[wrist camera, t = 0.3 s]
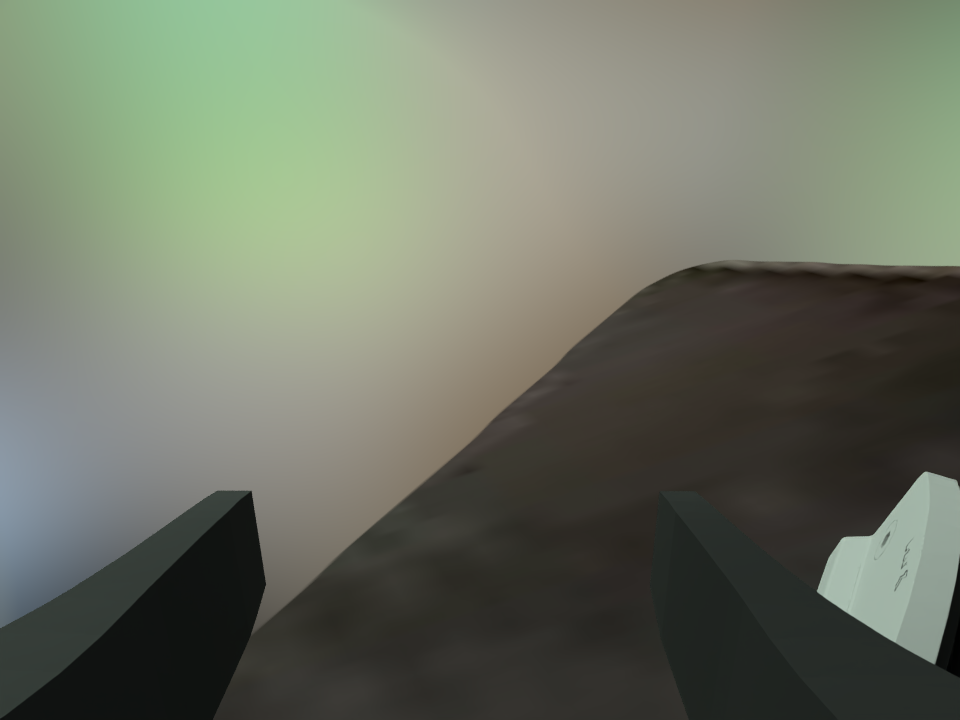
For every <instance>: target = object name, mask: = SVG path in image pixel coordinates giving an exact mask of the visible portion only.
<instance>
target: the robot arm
mask: <svg viewBox="0 0 960 720" xmlns="http://www.w3.org/2000/svg"><path fill="white" fill-rule="evenodd" d="M265 586H266V582H265V575H264V569H263V562H262V556H261V549H260V543H259V537H258V530H257V524H256V517H255V511H254V504H253V498H252V491H216V492H215V493H213V494H211V495H210V496H208V497H206V498H205V499H203V500H202V501H200V502H199V503H197V504H196V505H195V506H193V507H192V508H190V509H189V510H187V511H186V512H185V513H183V514H182V515H180V516H179V517H178V518H176V519H175V520H173V521H172V522H170V523H169V524H168V525H166V526H165V527H163V528H162V529H160V530H159V531H158V532H156V533H155V534H153V535H152V536H151V537H149V538H148V539H146V540H145V541H143V542H142V543H140V544H139V545H138V546H136V547H135V548H133V549H132V550H130V551H129V552H128V553H126V554H125V555H123V556H121V557H120V558H118V559H117V560H116V561H114V562H112V563H111V564H109V565H108V566H106V567H104V568H103V569H101V570H100V571H98V572H97V573H95V574H94V575H92V576H91V577H89V578H88V579H86V580H84V581H83V582H81V583H79V584H78V585H76V586H75V587H73V588H72V589H70V590H68V591H67V592H65V593H63V594H62V595H60V596H58V597H57V598H55V599H53V600H51V601H50V602H48V603H46V604H44V605H43V606H41V607H39V608H37V609H36V610H34V611H32V612H30V613H28V614H26V615H25V616H23V617H21V618H19V619H17V620H15V621H13V622H11V623H10V624H8V625H6V626H4V627H2V628H0V720H213V718H214V715H215V713H216V711H217V709H218V707H219V705H220V702H221V700H222V698H223V696H224V694H225V692H226V689H227V687H228V685H229V683H230V681H231V679H232V676H233V674H234V672H235V670H236V667H237V665H238V663H239V661H240V659H241V656H242V654H243V652H244V650H245V647H246V645H247V643H248V640H249V638H250V636H251V632H252V629H253V626H254V623H255V620H256V617H257V614H258V610H259V607H260V603H261V600H262V596H263V593H264V589H265ZM650 588H651V593H652V598H653V603H654V608H655V613H656V618H657V622H658V627H659V631H660V636H661V640H662V643H663V646H664V649H665V652H666V655H667V658H668V661H669V664H670V667H671V670H672V672H673V675H674V678H675V681H676V684H677V687H678V690H679V693H680V695H681V698H682V701H683V704H684V707H685V710H686V713H687V715H688V718H689V720H960V678H959V677H957V676H955V675H953V674H951V673H949V672H948V671H946V670H944V669H942V668H940V667H938V666H936V665H935V664H933V663H931V662H929V661H927V660H925V659H924V658H922V657H920V656H918V655H916V654H914V653H912V652H911V651H909V650H907V649H905V648H904V647H902V646H900V645H898V644H897V643H895V642H893V641H891V640H890V639H888V638H886V637H885V636H883V635H881V634H880V633H878V632H877V631H875V630H874V629H872V628H870V627H869V626H867V625H866V624H864V623H862V622H861V621H859V620H858V619H856V618H855V617H853V616H851V615H850V614H848V613H847V612H845V611H844V610H842V609H841V608H839V607H838V606H836V605H835V604H833V603H832V602H830V601H829V600H828V599H826V598H825V597H823V596H822V595H821V594H819V593H818V592H817V591H815V590H814V589H813V588H811V587H810V586H808V585H807V584H806V583H804V582H803V581H802V580H800V579H799V578H798V577H796V576H795V575H794V574H792V573H791V572H790V571H789V570H787V569H786V568H785V567H783V566H782V565H781V564H780V563H778V562H777V561H776V560H775V559H773V558H772V557H771V556H770V555H768V554H767V553H766V552H765V551H764V550H762V549H761V548H760V547H759V546H758V545H756V544H755V543H754V542H753V541H752V540H751V539H749V538H748V537H747V536H746V535H745V534H744V533H742V532H741V531H740V530H739V529H738V528H737V527H735V526H734V525H733V524H732V523H731V522H730V521H729V520H727V519H726V518H725V517H724V516H723V515H722V514H721V513H720V512H718V511H717V510H716V509H715V508H714V507H713V506H712V505H710V504H709V503H708V502H707V501H706V500H705V499H703V498H702V497H701V496H700V495H699V494H697V493H696V492H695V491H660V494H659V504H658V513H657V523H656V533H655V543H654V552H653V562H652V572H651V582H650Z"/></svg>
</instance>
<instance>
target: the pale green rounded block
mask: <svg viewBox="0 0 960 720" xmlns="http://www.w3.org/2000/svg"><path fill="white" fill-rule="evenodd" d="M817 592H818V593H819V594H821V595H822V596H823V597H825V598H826V599H828V600H829V601H830V602H832V603H833V604H835V605H836V606H838V607H839V608H841V609H842V610H844V611H845V612H847V613H848V614H850V615H851V616H853V617H855V618H856V619H858V620H859V621H861V622H862V623H864V624H866V625H867V626H869V627H870V628H872V629H874V630H875V631H877V632H878V633H880V634H881V635H883V636H885V637H886V638H888V639H890V640H891V641H893V642H895V643H897V644H898V645H900V646H902V647H904V648H905V649H907V650H909V651H911V652H912V653H914V654H916V655H918V656H920V657H922V658H924V659H925V660H927V661H929V662H931V663H933V664H935V665H936V666H938V667H940V668H942V669H944V670H946V671H948V672H949V673H951V674H953V675H955V676H957V677H959V678H960V489H959V486H958V483H957V481H956V480H953V479H950V478H946V477H943V476H939V475H936V474H933V473H929V472H924V473H923V474H922V475H921V476H920V477H919V478H918V479H917V481H916V482H915V483H914V484H913V486H912V487H911V488H910V490H909V491H908V492H907V493H906V495H905V496H904V497H903V498H902V500H901V501H900V502H899V503H898V505H897V506H896V507H895V509H894V510H893V511H892V512H891V514H890V515H889V516H888V517H887V519H886V520H885V521H884V523H883V524H882V525H881V526H880V528H879V529H878V530H877V531H876V533H875V534H874V535H872V536H867V537H845V538H843V539H842V540H841V541H840V543H839V544H838V545H837V547H836V548H835V550H834V551H833V553H832V554H831V556H830V557H829V559H828V562H827V565H826V568H825V570H824V573H823V576H822V579H821V582H820V585H819V587H818V590H817Z"/></svg>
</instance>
